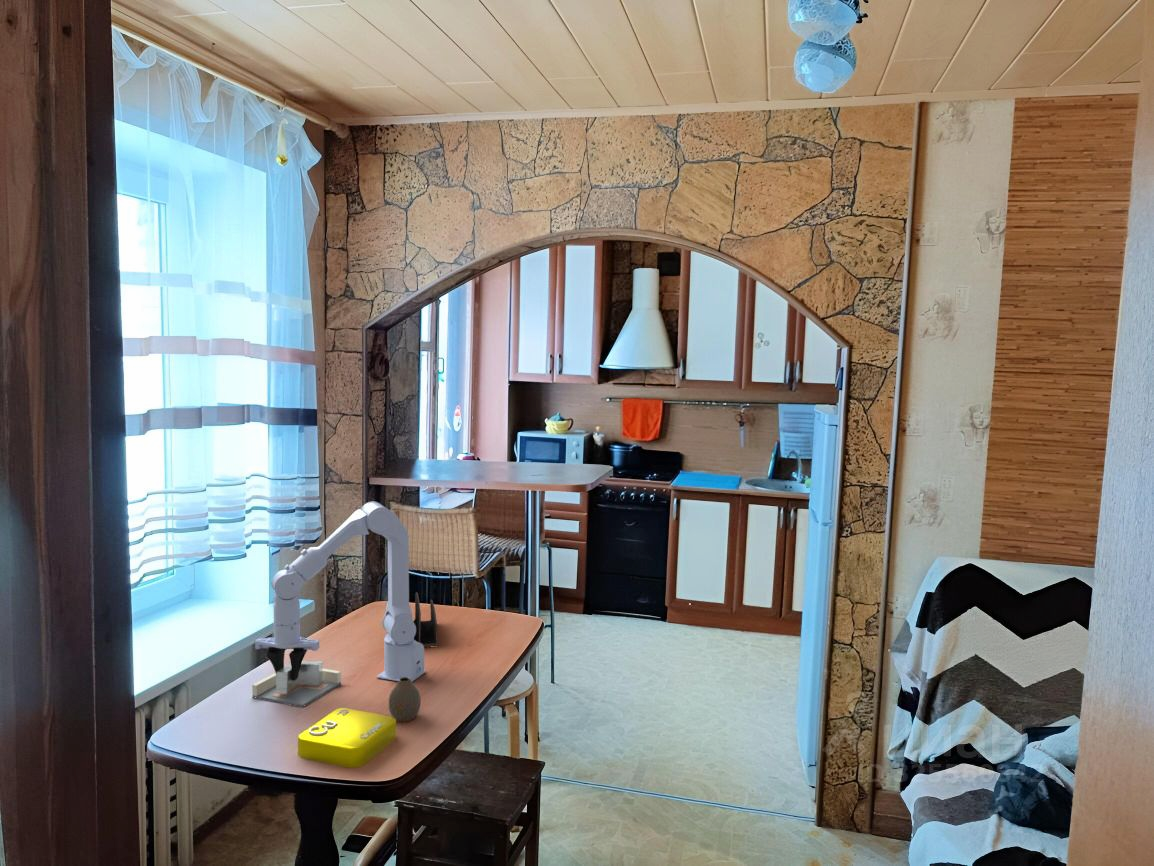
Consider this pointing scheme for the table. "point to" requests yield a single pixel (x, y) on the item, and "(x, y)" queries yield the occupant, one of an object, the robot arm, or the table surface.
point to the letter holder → (425, 626)
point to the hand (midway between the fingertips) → (287, 678)
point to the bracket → (299, 676)
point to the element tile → (347, 737)
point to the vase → (404, 700)
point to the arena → (296, 689)
